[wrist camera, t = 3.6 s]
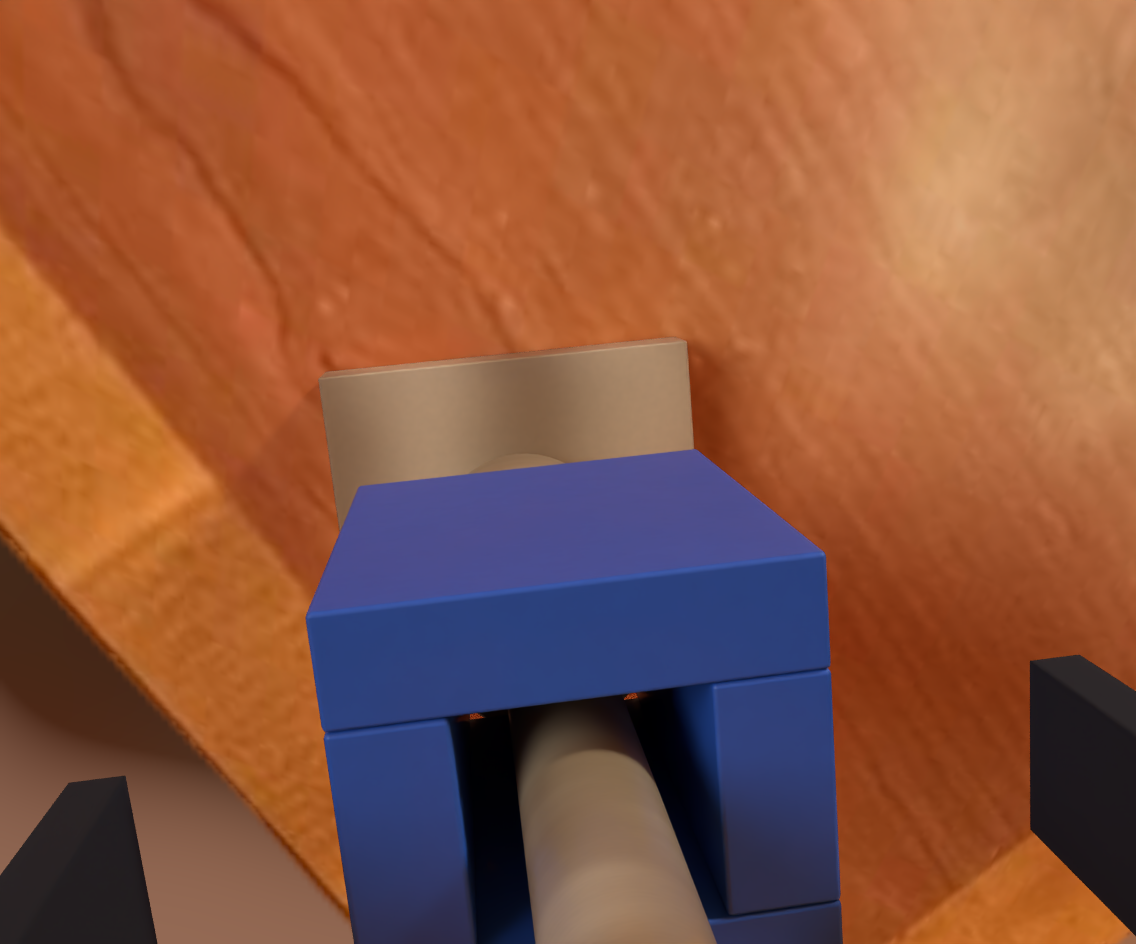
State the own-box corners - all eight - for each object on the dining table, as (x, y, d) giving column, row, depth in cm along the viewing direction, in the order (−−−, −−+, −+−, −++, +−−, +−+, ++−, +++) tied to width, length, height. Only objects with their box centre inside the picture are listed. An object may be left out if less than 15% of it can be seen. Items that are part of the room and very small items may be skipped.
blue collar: (400, 801, 23) (372, 1078, 15) (357, 485, 22) (303, 613, 14) (718, 759, 24) (847, 1004, 16) (697, 448, 22) (827, 551, 15)
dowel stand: (370, 705, 32) (203, 1603, 11) (324, 372, 30) (4, 661, 9) (699, 663, 33) (1152, 1420, 12) (676, 336, 31) (1176, 520, 10)
